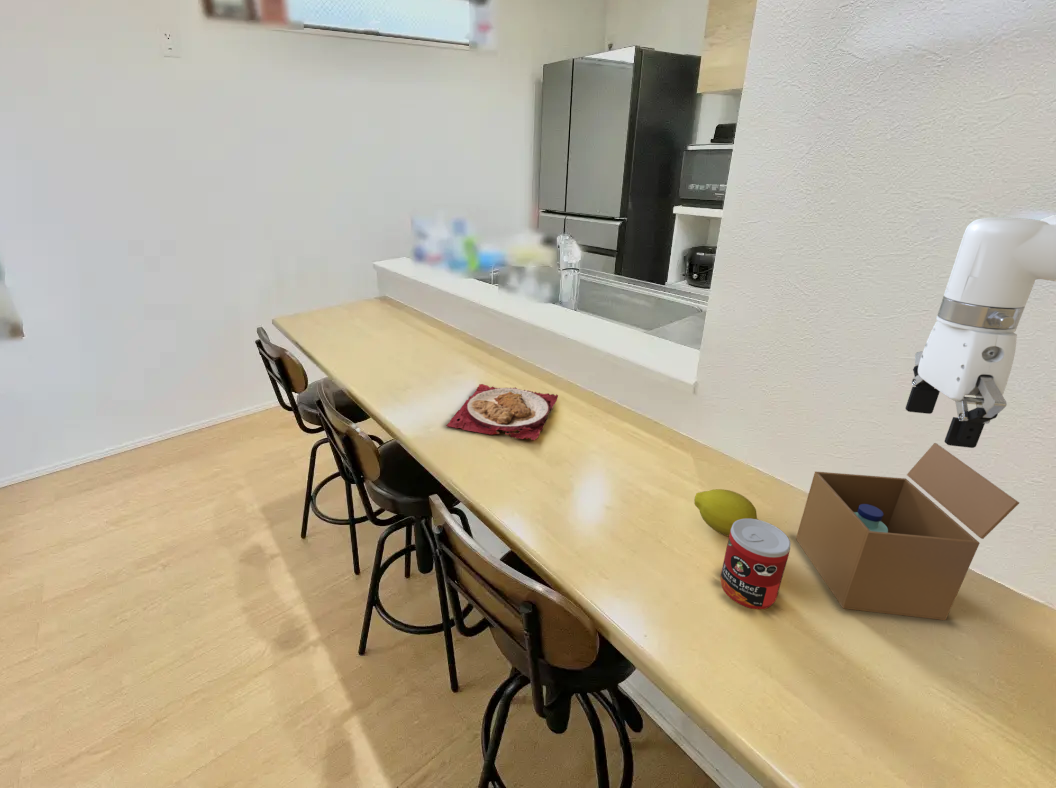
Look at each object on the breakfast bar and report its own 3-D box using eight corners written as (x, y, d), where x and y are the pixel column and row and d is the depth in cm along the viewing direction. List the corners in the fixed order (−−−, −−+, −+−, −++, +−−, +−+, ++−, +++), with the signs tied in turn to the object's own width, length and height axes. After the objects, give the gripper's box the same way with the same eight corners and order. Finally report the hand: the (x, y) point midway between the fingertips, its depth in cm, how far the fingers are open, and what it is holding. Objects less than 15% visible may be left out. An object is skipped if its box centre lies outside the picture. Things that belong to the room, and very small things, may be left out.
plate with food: (558, 401, 141) (558, 390, 140) (536, 444, 118) (536, 431, 117) (480, 388, 150) (480, 378, 148) (445, 426, 127) (445, 414, 126)
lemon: (762, 535, 90) (771, 498, 87) (746, 556, 85) (755, 519, 82) (702, 506, 97) (709, 471, 95) (684, 524, 92) (690, 488, 90)
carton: (881, 547, 87) (905, 478, 82) (945, 620, 73) (980, 542, 68) (795, 538, 89) (814, 471, 84) (842, 608, 75) (868, 532, 70)
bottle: (859, 560, 83) (880, 499, 79) (882, 589, 78) (906, 525, 73) (820, 556, 84) (839, 496, 80) (840, 584, 79) (861, 521, 74)
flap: (906, 474, 81) (908, 475, 81) (980, 538, 68) (983, 539, 68) (934, 442, 79) (936, 443, 79) (1017, 501, 65) (1020, 502, 65)
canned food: (708, 583, 80) (720, 528, 76) (739, 564, 83) (752, 511, 79) (754, 619, 73) (770, 561, 70) (786, 598, 77) (802, 541, 73)
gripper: (1069, 337, 56) (1015, 465, 62) (970, 298, 72) (933, 403, 78) (987, 332, 58) (942, 456, 64) (907, 296, 74) (877, 398, 80)
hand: (937, 427), depth 71 cm, fingers open, 9 cm apart
